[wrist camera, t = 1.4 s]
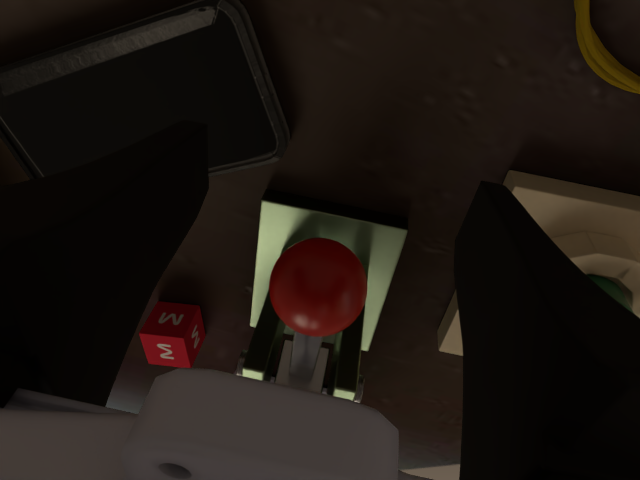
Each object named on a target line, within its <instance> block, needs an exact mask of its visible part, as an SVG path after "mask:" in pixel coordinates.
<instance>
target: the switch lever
mask: <svg viewBox="0 0 640 480" xmlns="http://www.w3.org/2000/svg"><path fill="white" fill-rule="evenodd" d="M367 289H368V286H367V277H366V273H365V270H364V268H363V265H362V263H361V262H360V260H359V259H358V257H357V256H356V255H355V254H354V253H353V252H352V251H351V250H350V249H349V248H348V247H346V246H345V245H343V244H341V243H339V242H337V241H334V240H331V239H326V238H311V239H306V240H302V241H300V242H298V243H295V244H294V245H292V246H291V247H289V248H288V249H287V250H286V251H284V252H283V253H282V255H281V256H280V257H279V258H278V260H277V261H276V263H275V265H274V267H273V269H272V272H271V276H270V281H269V292H270V299H271V302H272V305H273V308H274V310H275V312H276V313H277V315H278V316H279V318H280V319H281V320H282V321H283V322H284V323H285V324H286V325H287V326H288V327H290V328H291V329H293V330H294V337H293V341H292V340H288V339H285V340H284V343H283V347H282V351H281V355H280V359H279V363H278V368H277V372H276V376H275V380H274V383H276V384H281V385H285V386H290V387H295V388H299V389H304V390H308V391H313V392H318V393H322V391H323V385H324V379H325V374H326V368H327V363H328V357H329V352H330V349H329V348H325V347H321V344H322V340H323V337H324V336H329V335H333V334H336V333H338V332H340V331H342V330H344V329H345V328H347V327H348V326H350V325H351V324H352V323H353V322H354V321H355V320H356V318H357V317H358V316H359V314H360V313H361V311H362V309H363V307H364V304H365V301H366V297H367Z"/></svg>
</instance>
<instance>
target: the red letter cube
mask: <svg viewBox="0 0 640 480" xmlns="http://www.w3.org/2000/svg"><path fill="white" fill-rule="evenodd" d="M139 335H140V338H141V341H142V344H143V347H144V350H145V354H146V357H147V360H148V363H149V364H156V365H165V366H173V367H181V368H183V367H184V368H191V367H192V365H193V363H194V361H195V358H196V356H197V354H198V352H199V349H200V347H201V345H202V343H203V340H204V338H205V336H206V335H205V330H204V325H203V320H202V315H201V310H200V306H199V305H190V304H180V303H170V302H161V301H158V302H157V304H156V305H155V307H154V309H153V310H152V312H151V314H150V315H149V317H148V319H147V321H146V322H145V324H144V326H143V327H142V329H141V331H140V332H139Z"/></svg>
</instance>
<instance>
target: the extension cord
mask: <svg viewBox="0 0 640 480" xmlns="http://www.w3.org/2000/svg"><path fill="white" fill-rule="evenodd" d="M574 7H575V12H576V35H577V41H578V44H579V47H580V51H581V53H582V55H583V57H584V59H585V60H586V62H587V64H588V65H589V66H590V68H591V69H592V70H593V71H594V72H595V73H596V74H597V75H598V76H599V77H601V78H602V79H604V80H605V81H607V82H608V83H610V84H611V85H614V86H616V87H618V88H621V89H623V90H625V91H629V92H633V93H637V94H640V76H637V75H636V74H634V73H633V72H631V71H630V70H628V69H627V68H625V67H624V66H623V65H621V64H620V63H619V62H618V61H617V60H616V59H615V58H614V57H613V56H612V55H611V54H610V53H609V52H608V51H607V50H606V49H605V48H604V46H603V44H602V43H601V41H600V39H599V38H598V36H597V35H596V33H595V31H594V30H593V28H592V26H591V24H590V13H589V8H590V0H574Z"/></svg>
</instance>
